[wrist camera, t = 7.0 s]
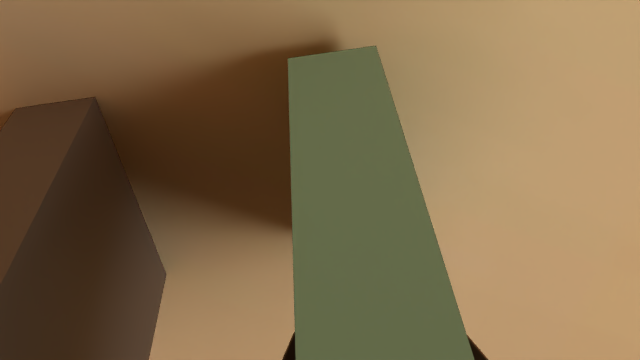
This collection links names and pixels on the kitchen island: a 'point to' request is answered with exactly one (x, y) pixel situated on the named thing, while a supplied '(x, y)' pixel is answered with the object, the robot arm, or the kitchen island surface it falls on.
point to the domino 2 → (362, 222)
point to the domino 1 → (72, 241)
